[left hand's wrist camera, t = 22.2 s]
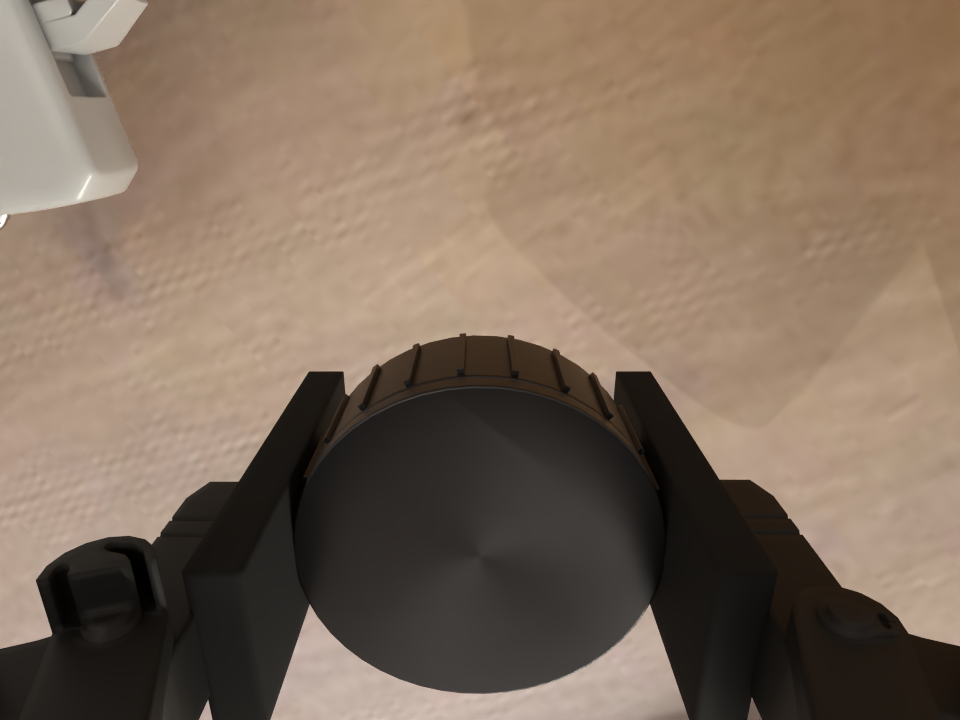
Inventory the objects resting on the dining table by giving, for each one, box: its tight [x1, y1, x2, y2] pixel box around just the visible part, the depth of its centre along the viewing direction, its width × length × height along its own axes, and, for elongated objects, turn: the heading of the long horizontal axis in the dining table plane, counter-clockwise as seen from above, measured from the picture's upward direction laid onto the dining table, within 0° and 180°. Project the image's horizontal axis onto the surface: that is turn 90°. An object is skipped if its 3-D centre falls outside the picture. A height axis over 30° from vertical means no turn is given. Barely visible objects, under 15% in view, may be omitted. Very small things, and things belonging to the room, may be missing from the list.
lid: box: [293, 333, 667, 694], centre depth 11 cm, size 6×6×2 cm
